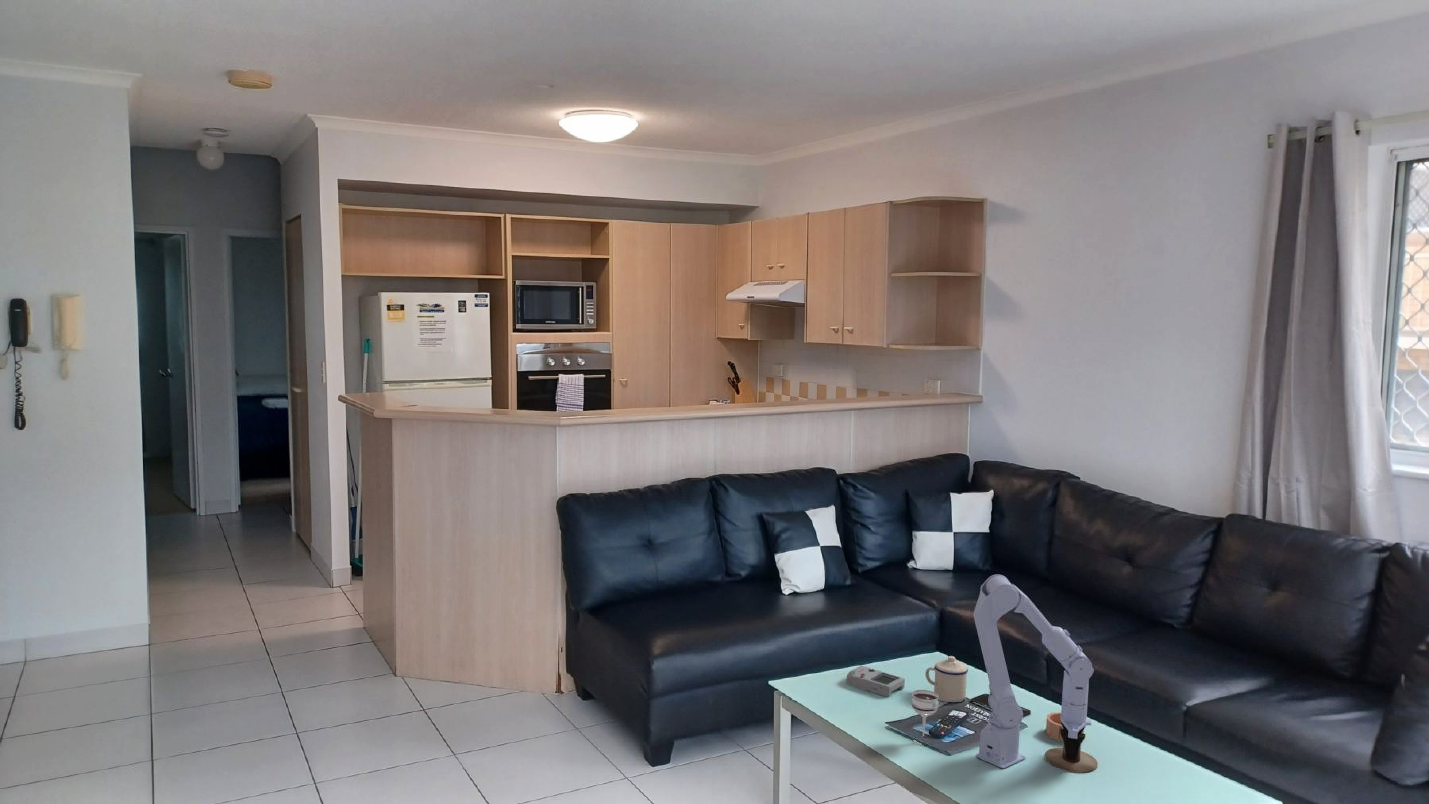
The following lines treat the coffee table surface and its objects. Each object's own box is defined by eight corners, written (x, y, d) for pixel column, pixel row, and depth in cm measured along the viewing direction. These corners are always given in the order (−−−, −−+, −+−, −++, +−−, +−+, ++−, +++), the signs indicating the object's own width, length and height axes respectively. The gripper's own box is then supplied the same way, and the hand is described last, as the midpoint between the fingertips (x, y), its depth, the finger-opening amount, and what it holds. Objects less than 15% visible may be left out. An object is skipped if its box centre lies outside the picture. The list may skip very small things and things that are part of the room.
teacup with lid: (971, 696, 269) (973, 656, 268) (958, 706, 262) (960, 665, 261) (931, 685, 276) (933, 646, 275) (918, 695, 269) (920, 655, 268)
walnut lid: (1081, 777, 223) (1082, 759, 223) (1034, 758, 232) (1036, 740, 232) (1107, 763, 231) (1108, 745, 230) (1061, 745, 240) (1062, 727, 240)
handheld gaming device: (860, 676, 283) (861, 664, 283) (904, 690, 273) (905, 677, 273) (844, 685, 276) (844, 672, 276) (888, 699, 267) (889, 686, 266)
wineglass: (942, 741, 240) (944, 695, 239) (927, 749, 235) (930, 702, 234) (918, 732, 245) (920, 687, 244) (904, 740, 240) (906, 694, 239)
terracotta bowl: (1070, 745, 240) (1071, 730, 239) (1038, 732, 247) (1039, 717, 246) (1090, 736, 245) (1091, 721, 245) (1058, 724, 252) (1059, 709, 252)
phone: (986, 692, 270) (1032, 710, 259) (985, 696, 271) (1032, 714, 259) (968, 699, 266) (1015, 717, 254) (968, 703, 266) (1015, 722, 254)
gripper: (1092, 715, 222) (1089, 771, 223) (1092, 692, 235) (1089, 745, 237) (1060, 709, 225) (1056, 765, 226) (1062, 687, 238) (1058, 740, 239)
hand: (1071, 755), depth 231 cm, fingers closed on walnut lid, 4 cm apart
